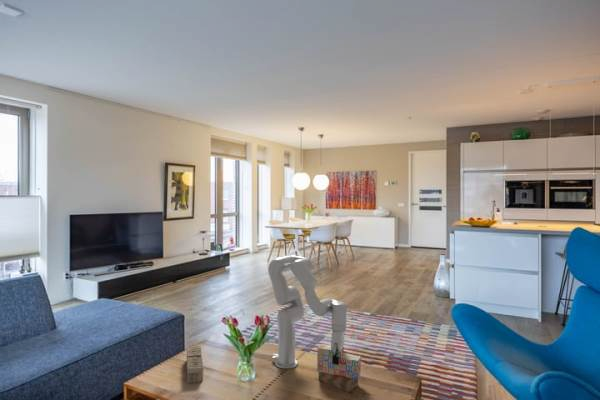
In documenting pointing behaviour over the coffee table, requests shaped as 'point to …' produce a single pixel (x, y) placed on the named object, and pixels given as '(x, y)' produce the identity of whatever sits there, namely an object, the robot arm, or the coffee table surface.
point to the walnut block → (338, 381)
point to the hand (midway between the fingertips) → (337, 360)
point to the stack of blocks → (346, 366)
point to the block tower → (194, 364)
